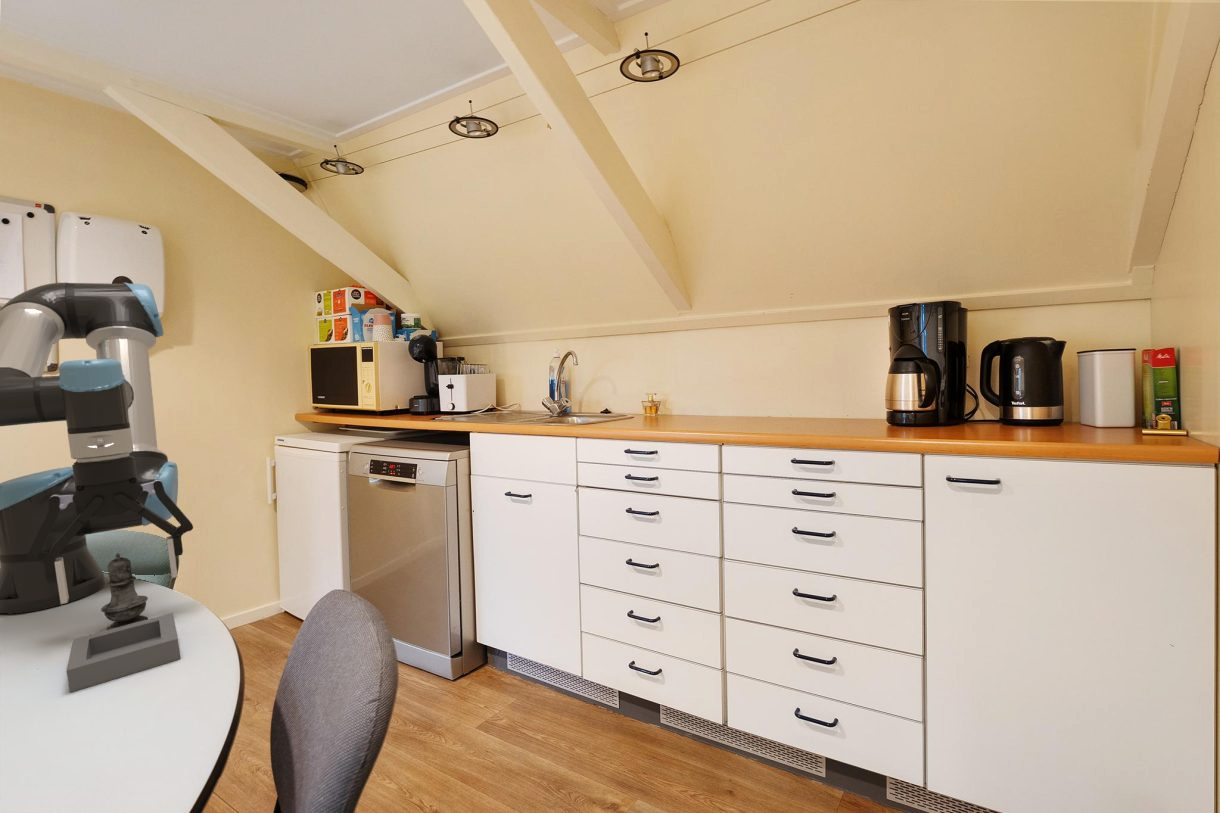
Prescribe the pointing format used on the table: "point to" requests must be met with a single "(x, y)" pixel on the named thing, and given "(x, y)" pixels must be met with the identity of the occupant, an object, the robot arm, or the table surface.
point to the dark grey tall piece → (123, 595)
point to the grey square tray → (122, 651)
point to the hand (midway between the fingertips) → (122, 587)
